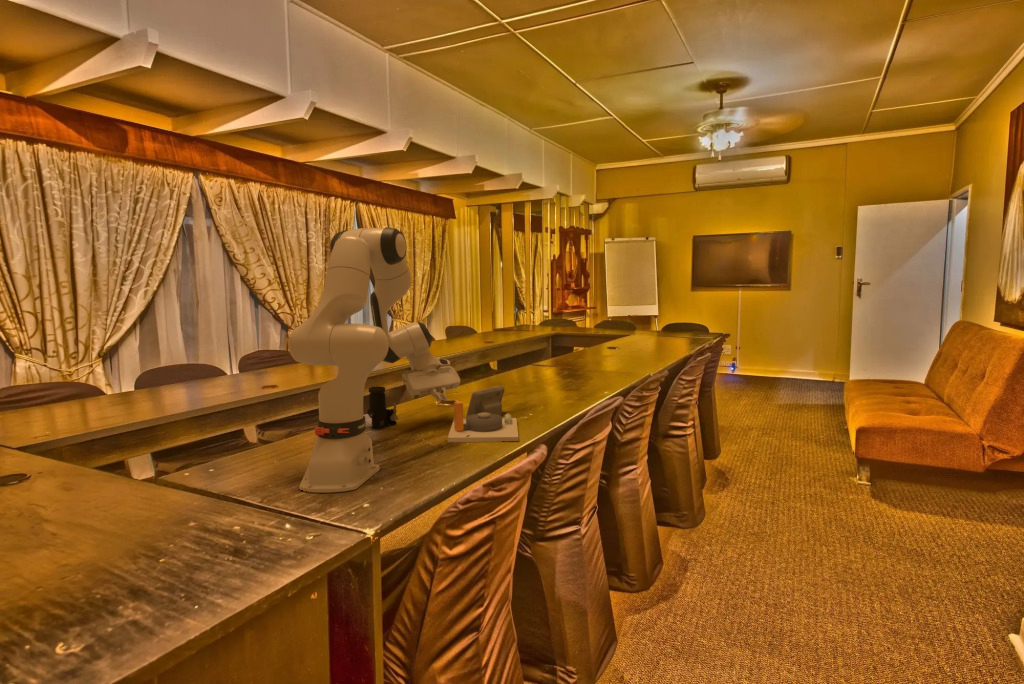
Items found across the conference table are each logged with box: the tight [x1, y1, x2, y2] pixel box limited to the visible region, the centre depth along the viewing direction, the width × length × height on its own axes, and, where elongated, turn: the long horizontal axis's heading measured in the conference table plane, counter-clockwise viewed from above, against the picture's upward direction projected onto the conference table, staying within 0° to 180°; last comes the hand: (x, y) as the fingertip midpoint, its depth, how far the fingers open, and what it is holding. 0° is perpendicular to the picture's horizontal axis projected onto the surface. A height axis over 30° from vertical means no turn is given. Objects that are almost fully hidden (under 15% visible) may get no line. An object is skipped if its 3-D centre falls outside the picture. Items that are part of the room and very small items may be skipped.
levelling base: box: [447, 412, 519, 443], centre depth 181 cm, size 24×22×4 cm
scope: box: [367, 386, 399, 430], centre depth 187 cm, size 8×14×10 cm
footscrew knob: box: [453, 401, 503, 431], centre depth 180 cm, size 16×12×9 cm
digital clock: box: [466, 385, 505, 417], centre depth 202 cm, size 16×9×11 cm, turn 126°
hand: (442, 400), depth 184 cm, fingers closed
